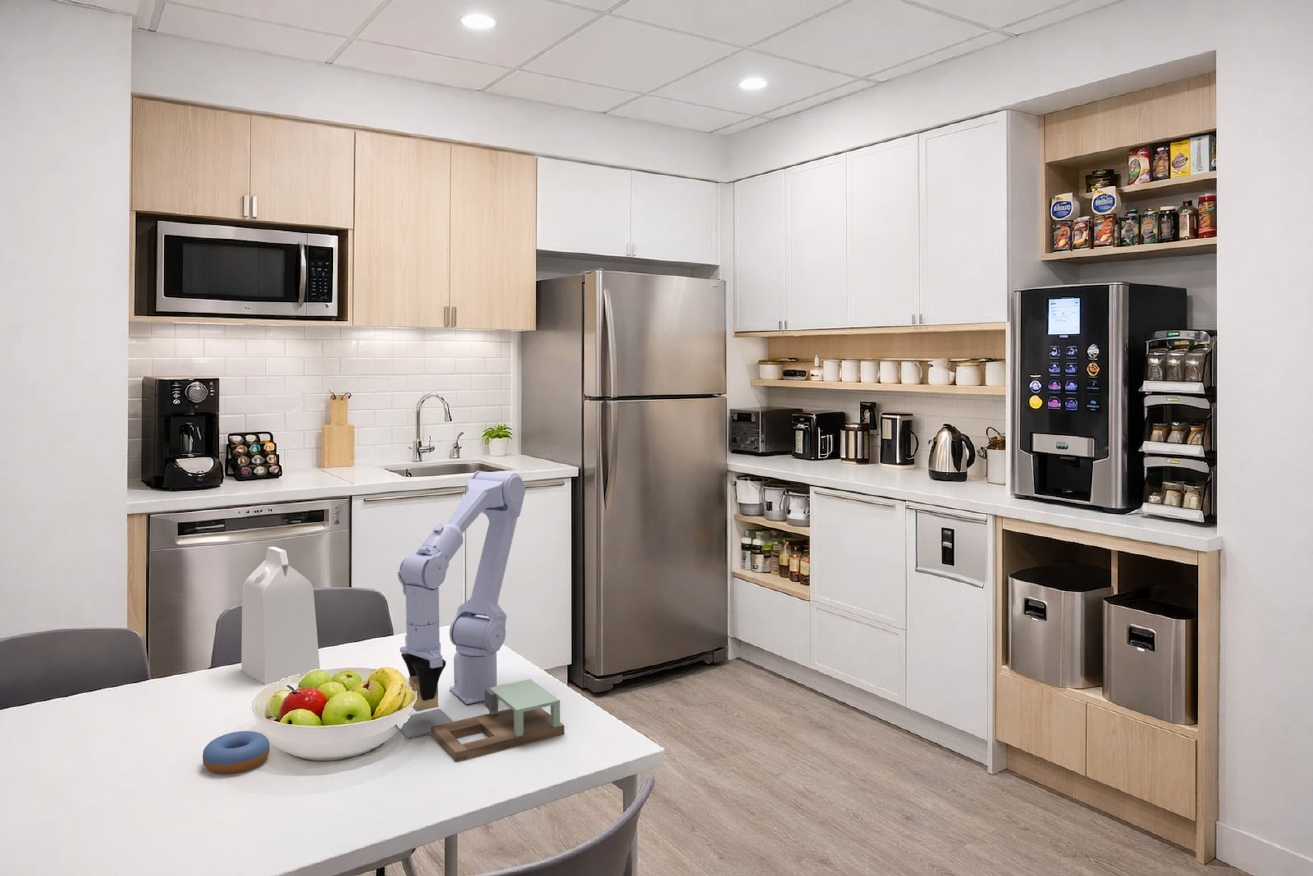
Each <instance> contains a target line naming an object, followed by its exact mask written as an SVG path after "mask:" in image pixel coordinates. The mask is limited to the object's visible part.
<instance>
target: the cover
mask: <svg viewBox="0 0 1313 876" xmlns="http://www.w3.org/2000/svg"><path fill="white" fill-rule="evenodd" d="M499 700H500V701H501V702H502V703H503V704H505V705H506V706H507V707H508V709H510V708H511V709H512V710H513V711H514V735H516V736H517V737H518V736H522V735H523V712H526V711H530V710H534V709H538V708H542V709H544V708H546V707H550V715H551V726H553V727H558V726H560V722H561V700H560V699H559V698H558V697H556V696H555V695H553V694H552V693H551V692H549V691H548V690H546V689H545V688H544V687H542V686H540V685H539V684H538V683H536V682H535V681H534V680H532V679H531V678H529V679H524V680H519V681H513V682H509V683H506V684H501V685H497V686H495V687H491V688H489V689H485V701H484V707H485V708H487V709H488V711H489V713H490V714H491V715H494V714H498V711H499Z"/></svg>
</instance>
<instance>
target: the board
mask: <svg viewBox="0 0 1313 876" xmlns="http://www.w3.org/2000/svg"><path fill="white" fill-rule="evenodd" d="M478 732H479V733H483V734H484V735H485V736H486V738H481V739H477V740H473V741H470V742H465V743H461V742H460V741H459V740H458V739H459V738H461V737H465V736H466V737H467V736H469V735H475V734H478ZM560 734H561V735H565V724H563V722H561V721H560V726H558V727H553V726H551V713H549V712H547V711H546V710H545V709H544V708H538V709H534V710H530V711H526V712H523V735H522V736H518V737H517V736H516V735H514V711H513V710H512V709H511V708H507V709H502V710H498V714H494V715H491V714H490V712H489V713H484V714H481V715H477V716H473V717H472V716H471V717H467V718H463V719H459V720H454V721H453V722H450V723H445V724H441V725H437V726H432V727H431V734H430V735H431V737H432V738H433V737H434V738H435V739H434V740H435V741H436V742H437V743H438V744H439V745H440V746H441V747H442V748H443V749H444V751H445V752H446V751H447V754H448V755H449V756H450V757H451V758H452V759H453V760H454V761H455V762H459V761H463V760H466V759H471V758H476V757H478V756H483V755H486V754H491V753H493V752H499V751H502V750H506V749H510V748H514V747H517V746H521V745H525V744H526V745H527V744H529V743H534V742H537V741H541V740H545V739H549V738H552V737H556V736H561V735H560Z"/></svg>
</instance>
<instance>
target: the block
mask: <svg viewBox="0 0 1313 876" xmlns="http://www.w3.org/2000/svg"><path fill="white" fill-rule="evenodd" d="M409 685H410V687H412V690H413V691H415V692H416V691H417V700H416V702H415V704H414V706H413V708H412V709H413V710H414V711H415V712H416V713H417V712H420V711H421V712H422V711H425V710H426V711H427V710H430V709H436V708H438V707H439V684H438V685H437V689H436V694H435V697H434V699H430V700H425V701H423V700H422V698H421V694H420V688H419V682H418V677H417V676H413V677H410V676H409V677H408V686H409Z"/></svg>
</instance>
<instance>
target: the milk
mask: <svg viewBox="0 0 1313 876" xmlns="http://www.w3.org/2000/svg"><path fill="white" fill-rule="evenodd" d="M287 554H288V553H287V551H286V550H285V549H282V548H279V547H276V546H269V547H267V550H266V556H265V560H263V562H262V563H260V564H259V565H258V567H256V569H254V570H253V572H252V573H250V575H249V576H248V577H247V578H246V580H245V581H244V582H243V585H242V588H241V589H242V592H241V662H240V663H241V666H240V670H241V671H242V672H244V673H245V674H247V675H248V676H250V677H252V678H254V679H255V680H257V681H259V682H260V683H261V684H263V685H264V686H265V685H269V684H270V685H271V684H273V682H274V683H277V682H281V681H280V680H281V679H283V678H288V677H289V676H293V675H297V674H303V673H307V672H309V671H311V670H314V669H320V670H321V665H320V663H321V662H320V653H319V652H320V651H319V641H318V631H317V630H318V626H317V617H316V616H317V615H316V606H315V605H316V603H315V593H314V592H315V591H314V586H313V584H312V582H311V581H310V580H309V579H307V577H305V576H304V575H303V574H301V573H300V572H299V571H297V570H296V569H295V568H293V566H291V565H290V564H289V559H288V555H287Z"/></svg>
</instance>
